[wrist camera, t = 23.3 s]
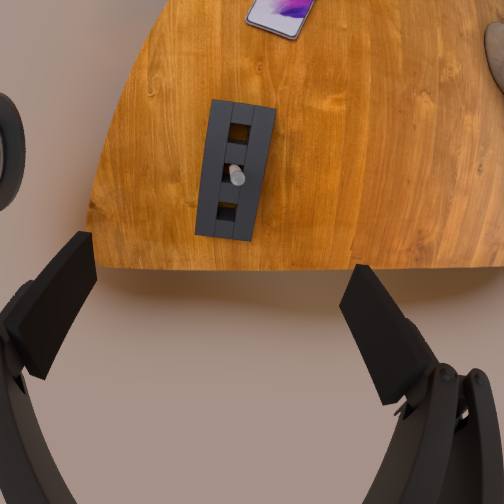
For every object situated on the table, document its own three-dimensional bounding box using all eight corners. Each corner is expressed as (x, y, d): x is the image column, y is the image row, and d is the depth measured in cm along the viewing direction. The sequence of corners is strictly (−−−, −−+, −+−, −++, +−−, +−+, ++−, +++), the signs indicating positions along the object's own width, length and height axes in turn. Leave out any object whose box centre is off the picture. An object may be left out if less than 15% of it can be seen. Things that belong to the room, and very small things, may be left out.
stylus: (228, 170, 37) (229, 184, 24) (229, 161, 37) (231, 170, 23) (237, 171, 37) (244, 186, 24) (238, 162, 37) (246, 172, 23)
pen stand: (198, 220, 40) (194, 234, 36) (214, 100, 32) (212, 99, 28) (248, 226, 41) (251, 241, 37) (271, 109, 33) (276, 109, 29)
